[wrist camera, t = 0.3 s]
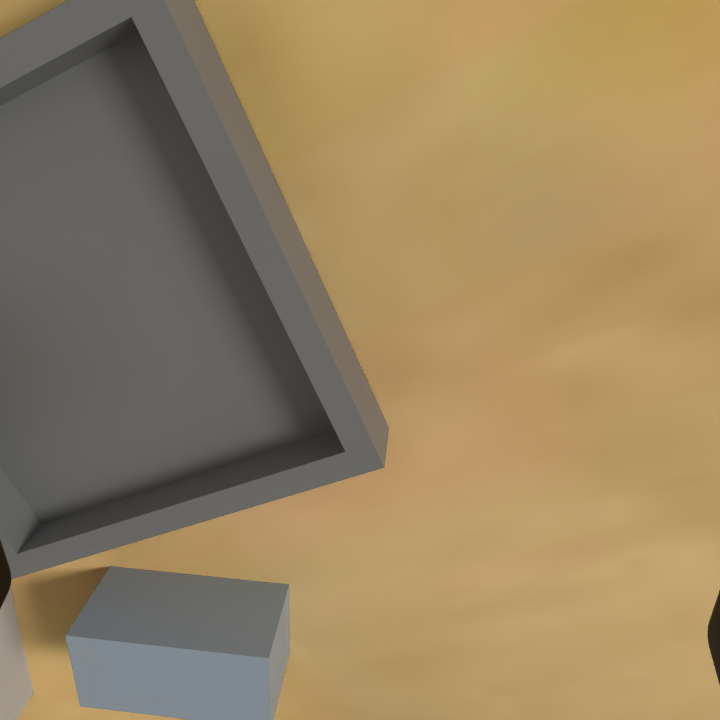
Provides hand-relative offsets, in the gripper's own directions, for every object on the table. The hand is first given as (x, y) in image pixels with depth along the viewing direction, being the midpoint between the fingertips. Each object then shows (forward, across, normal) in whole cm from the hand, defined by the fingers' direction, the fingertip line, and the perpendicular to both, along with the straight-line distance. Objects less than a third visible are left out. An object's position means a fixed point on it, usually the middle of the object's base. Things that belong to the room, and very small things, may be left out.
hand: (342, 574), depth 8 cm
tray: (+14, +11, +3) cm, 18 cm away
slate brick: (+14, +8, +17) cm, 24 cm away
